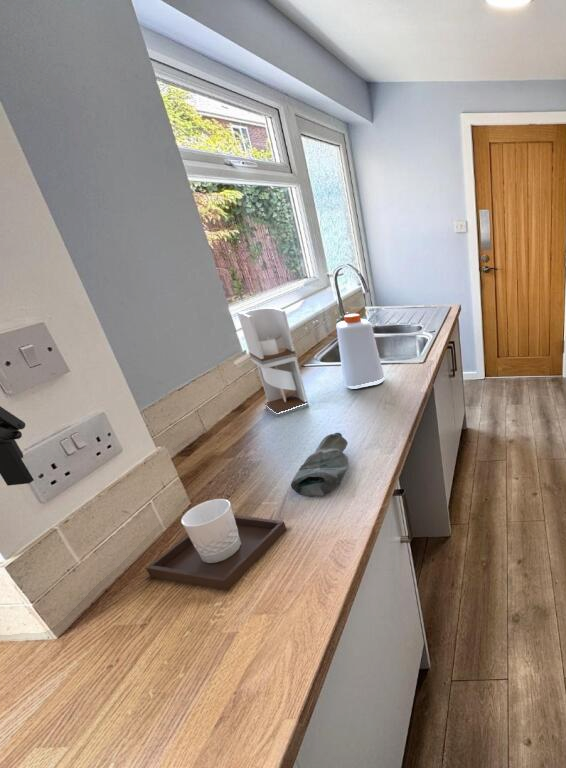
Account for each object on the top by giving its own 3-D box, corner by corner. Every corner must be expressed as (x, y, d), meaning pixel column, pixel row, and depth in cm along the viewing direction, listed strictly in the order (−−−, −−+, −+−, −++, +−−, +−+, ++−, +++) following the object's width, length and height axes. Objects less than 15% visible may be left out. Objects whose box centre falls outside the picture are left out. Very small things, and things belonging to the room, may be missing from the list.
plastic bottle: (347, 392, 156) (333, 322, 145) (342, 380, 169) (328, 314, 158) (387, 384, 163) (376, 316, 152) (379, 373, 175) (368, 309, 164)
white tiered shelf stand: (265, 407, 146) (237, 312, 132) (296, 398, 153) (272, 306, 140) (277, 416, 139) (248, 317, 125) (308, 406, 146) (284, 310, 132)
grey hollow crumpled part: (341, 498, 97) (365, 442, 120) (333, 474, 94) (358, 421, 117) (286, 506, 97) (320, 449, 119) (276, 483, 94) (313, 428, 116)
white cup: (206, 541, 85) (190, 503, 81) (249, 532, 87) (235, 495, 83) (191, 570, 78) (173, 530, 74) (238, 560, 80) (222, 520, 76)
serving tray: (150, 577, 77) (145, 567, 76) (219, 521, 91) (215, 512, 90) (227, 590, 74) (223, 581, 73) (286, 530, 88) (284, 521, 87)
